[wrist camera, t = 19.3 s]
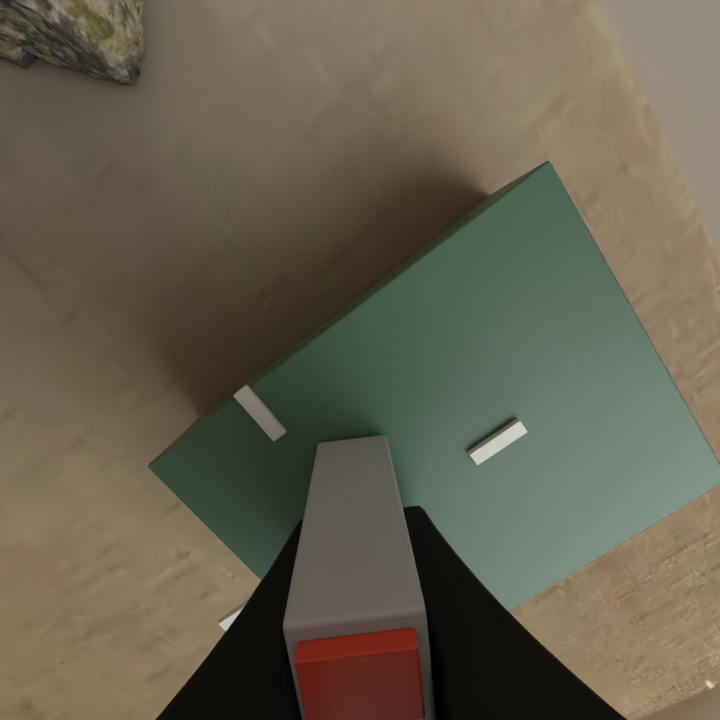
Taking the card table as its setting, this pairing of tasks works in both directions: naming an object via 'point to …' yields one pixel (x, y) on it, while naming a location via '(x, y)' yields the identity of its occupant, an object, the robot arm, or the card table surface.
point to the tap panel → (467, 405)
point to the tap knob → (357, 594)
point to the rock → (76, 35)
